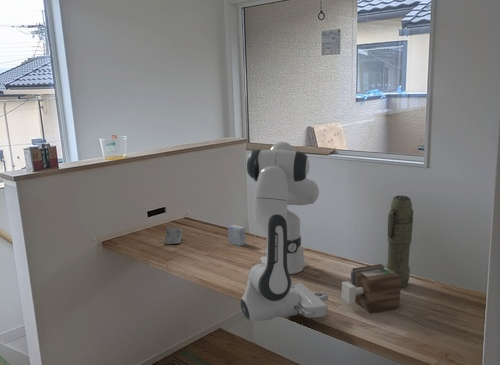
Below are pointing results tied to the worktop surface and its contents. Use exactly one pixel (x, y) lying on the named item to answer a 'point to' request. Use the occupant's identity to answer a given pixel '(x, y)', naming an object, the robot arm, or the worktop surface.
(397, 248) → the olive green tall piece
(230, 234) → the medicine box
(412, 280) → the worktop surface
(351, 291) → the peg
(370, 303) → the block
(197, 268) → the worktop surface
